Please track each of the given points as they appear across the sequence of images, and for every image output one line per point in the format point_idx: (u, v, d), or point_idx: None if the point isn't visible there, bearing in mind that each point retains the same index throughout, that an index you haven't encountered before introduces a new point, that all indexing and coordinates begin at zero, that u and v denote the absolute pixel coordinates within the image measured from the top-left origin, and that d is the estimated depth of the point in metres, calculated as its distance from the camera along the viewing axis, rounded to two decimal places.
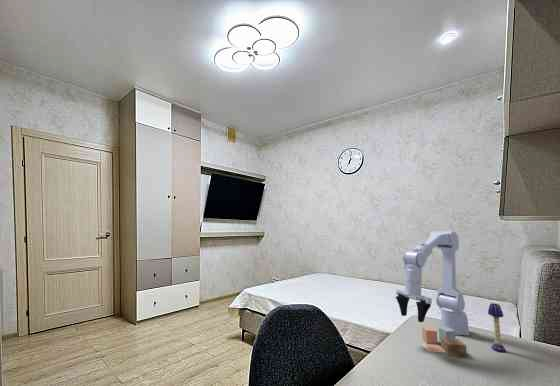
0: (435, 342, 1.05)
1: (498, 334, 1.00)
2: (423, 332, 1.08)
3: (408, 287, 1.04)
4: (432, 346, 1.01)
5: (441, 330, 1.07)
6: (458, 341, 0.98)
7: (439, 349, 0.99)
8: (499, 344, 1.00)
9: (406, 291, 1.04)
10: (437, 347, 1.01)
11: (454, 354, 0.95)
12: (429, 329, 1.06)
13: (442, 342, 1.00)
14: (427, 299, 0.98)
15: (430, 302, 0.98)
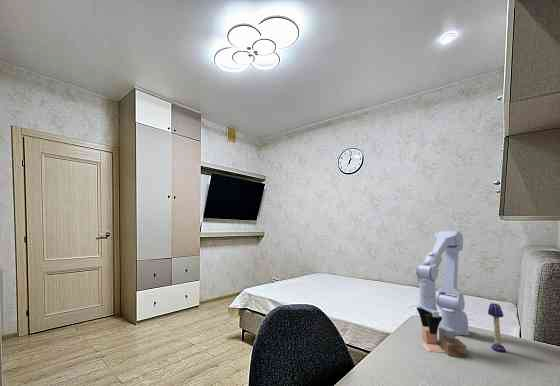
0: (435, 342, 1.05)
1: (498, 334, 1.00)
2: (423, 332, 1.08)
3: (420, 300, 1.09)
4: (432, 346, 1.01)
5: (441, 330, 1.07)
6: (458, 341, 0.98)
7: (439, 349, 0.99)
8: (499, 344, 1.00)
9: (420, 303, 1.09)
10: (437, 347, 1.01)
11: (454, 354, 0.95)
12: None
13: (442, 342, 1.00)
14: (433, 312, 1.01)
15: (437, 316, 1.01)
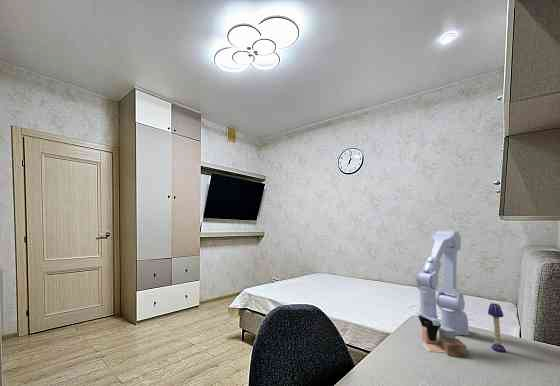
0: (435, 342, 1.05)
1: (498, 334, 1.00)
2: (423, 332, 1.08)
3: (421, 308, 1.08)
4: (432, 346, 1.01)
5: (441, 330, 1.07)
6: (458, 341, 0.98)
7: (439, 349, 0.99)
8: (499, 344, 1.00)
9: (420, 311, 1.09)
10: (437, 347, 1.01)
11: (454, 354, 0.95)
12: None
13: (442, 342, 1.00)
14: (433, 321, 1.01)
15: (438, 324, 1.00)
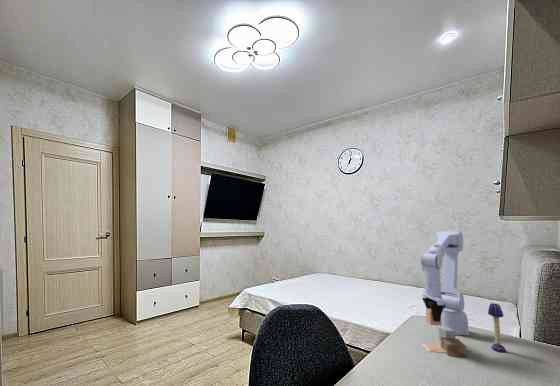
0: (439, 323, 1.03)
1: (498, 334, 1.00)
2: (427, 314, 1.07)
3: (425, 288, 1.07)
4: (432, 346, 1.01)
5: (441, 330, 1.07)
6: (458, 341, 0.98)
7: (439, 349, 0.99)
8: (499, 344, 1.00)
9: (425, 292, 1.08)
10: (437, 347, 1.01)
11: (453, 354, 0.95)
12: None
13: (442, 342, 1.01)
14: (437, 301, 1.00)
15: (442, 304, 0.99)
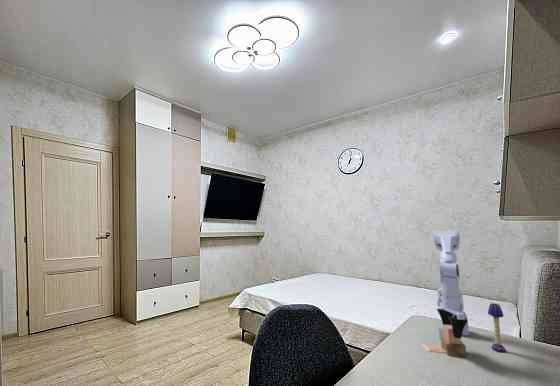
0: (458, 341, 0.97)
1: (498, 334, 1.00)
2: (444, 331, 1.00)
3: (442, 301, 1.00)
4: (432, 346, 1.01)
5: (441, 330, 1.07)
6: None
7: (439, 349, 0.99)
8: (499, 344, 1.00)
9: (442, 304, 1.01)
10: (437, 347, 1.01)
11: (453, 354, 0.95)
12: None
13: (442, 341, 1.01)
14: (457, 315, 0.93)
15: (463, 318, 0.92)
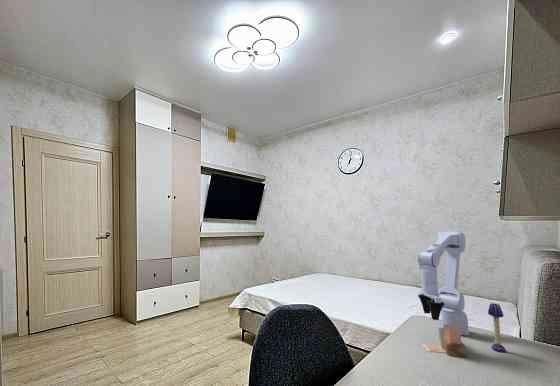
0: (459, 341, 0.97)
1: (498, 334, 1.00)
2: (445, 331, 1.00)
3: (422, 286, 1.09)
4: (432, 346, 1.01)
5: (441, 330, 1.07)
6: None
7: (439, 349, 0.99)
8: (499, 344, 1.00)
9: (422, 290, 1.10)
10: (437, 347, 1.01)
11: (453, 354, 0.95)
12: (452, 328, 0.98)
13: (442, 341, 1.01)
14: (435, 298, 1.02)
15: (440, 301, 1.01)
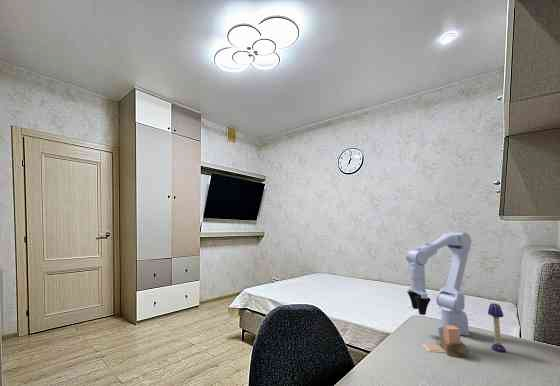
0: (458, 341, 0.97)
1: (498, 334, 1.00)
2: (444, 331, 1.00)
3: (410, 283, 1.15)
4: (432, 346, 1.01)
5: (441, 330, 1.07)
6: None
7: (439, 349, 0.99)
8: (499, 344, 1.00)
9: (410, 286, 1.15)
10: (437, 347, 1.01)
11: (453, 354, 0.95)
12: (451, 327, 0.98)
13: (442, 342, 1.01)
14: (421, 294, 1.07)
15: (426, 297, 1.07)
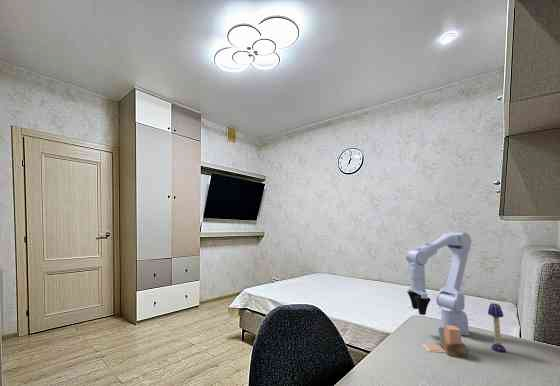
0: (459, 342, 0.96)
1: (498, 334, 1.00)
2: (445, 331, 1.00)
3: (410, 283, 1.15)
4: (432, 346, 1.01)
5: (441, 330, 1.07)
6: None
7: (439, 349, 0.99)
8: (499, 344, 1.00)
9: (410, 286, 1.15)
10: (437, 347, 1.01)
11: (453, 354, 0.95)
12: (452, 328, 0.98)
13: (442, 342, 1.00)
14: (421, 294, 1.07)
15: (426, 297, 1.07)
